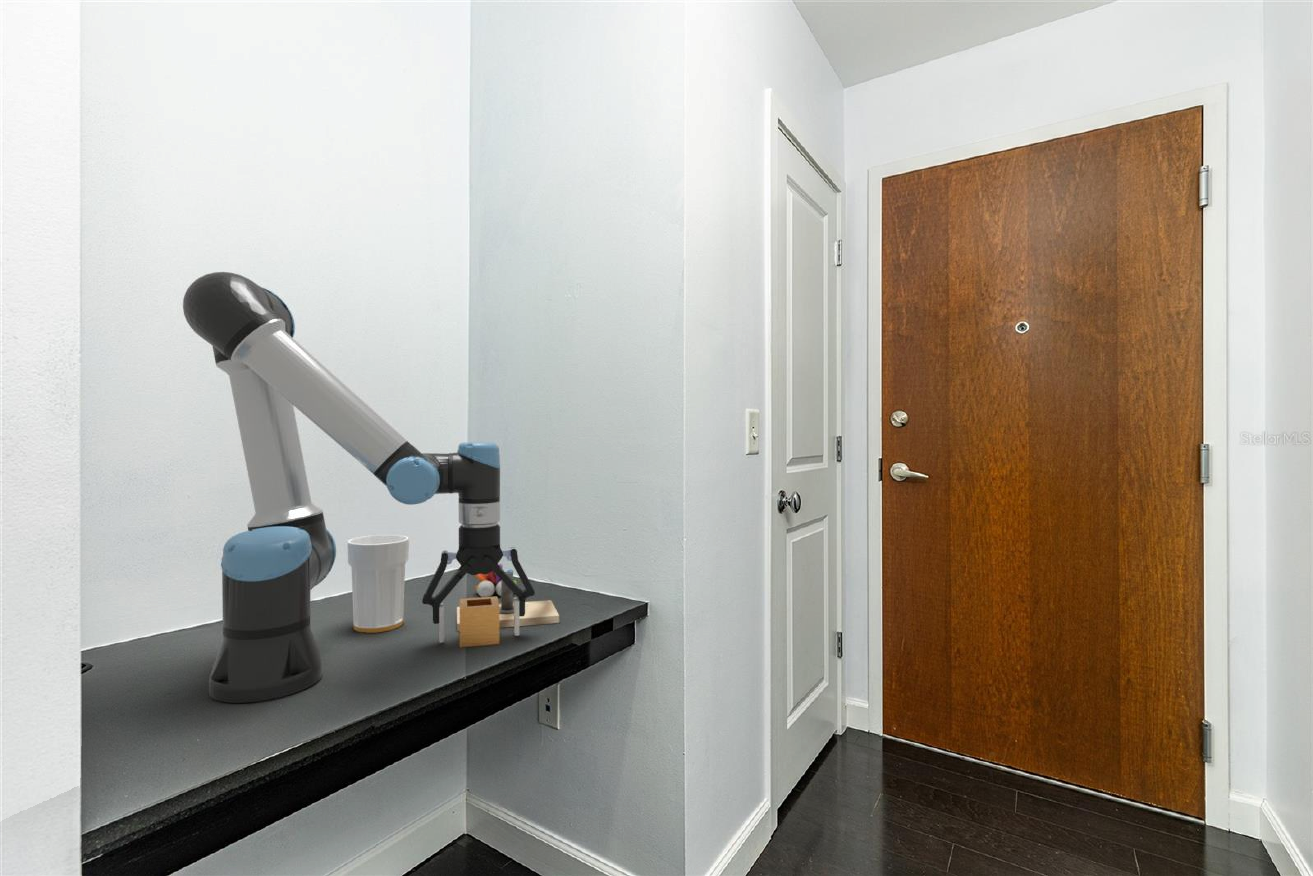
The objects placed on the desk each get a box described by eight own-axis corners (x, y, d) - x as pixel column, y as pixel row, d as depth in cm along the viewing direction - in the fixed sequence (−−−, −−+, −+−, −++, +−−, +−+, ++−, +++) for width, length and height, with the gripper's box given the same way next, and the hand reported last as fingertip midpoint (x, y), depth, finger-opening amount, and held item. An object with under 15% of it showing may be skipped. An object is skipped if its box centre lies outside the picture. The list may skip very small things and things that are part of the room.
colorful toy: (476, 590, 156) (477, 561, 156) (517, 589, 158) (517, 560, 158) (473, 600, 148) (473, 568, 148) (516, 598, 149) (516, 567, 149)
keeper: (456, 631, 125) (457, 583, 125) (456, 614, 136) (457, 569, 136) (559, 622, 131) (559, 576, 130) (551, 606, 142) (551, 564, 142)
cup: (416, 627, 127) (417, 540, 127) (356, 638, 120) (356, 546, 120) (398, 614, 136) (398, 532, 136) (340, 624, 129) (340, 538, 128)
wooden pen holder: (459, 647, 116) (459, 609, 116) (459, 635, 122) (459, 599, 122) (499, 643, 118) (499, 606, 118) (497, 632, 125) (497, 596, 124)
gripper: (406, 530, 112) (407, 650, 113) (549, 524, 120) (549, 636, 120) (409, 524, 120) (410, 636, 120) (543, 518, 127) (543, 624, 127)
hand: (479, 636), depth 120 cm, fingers open, 13 cm apart
